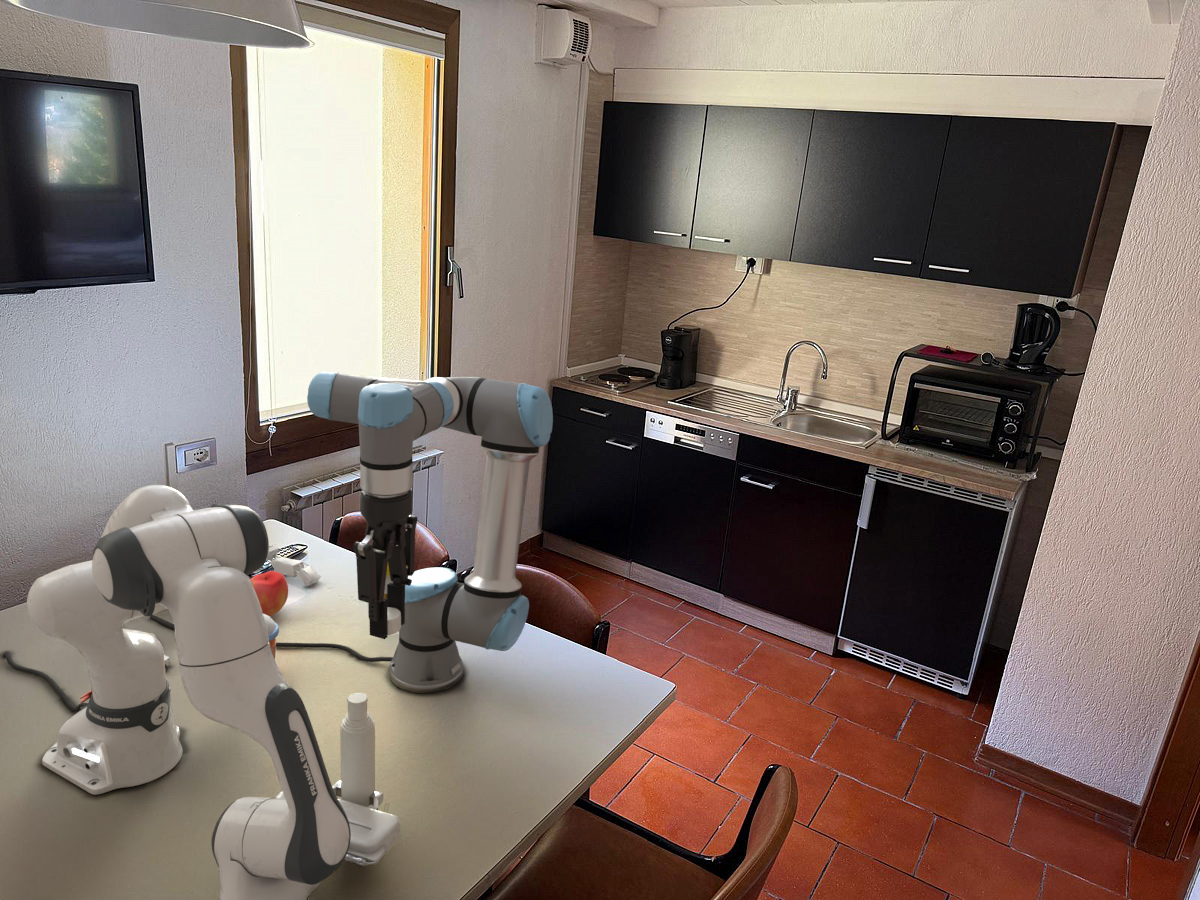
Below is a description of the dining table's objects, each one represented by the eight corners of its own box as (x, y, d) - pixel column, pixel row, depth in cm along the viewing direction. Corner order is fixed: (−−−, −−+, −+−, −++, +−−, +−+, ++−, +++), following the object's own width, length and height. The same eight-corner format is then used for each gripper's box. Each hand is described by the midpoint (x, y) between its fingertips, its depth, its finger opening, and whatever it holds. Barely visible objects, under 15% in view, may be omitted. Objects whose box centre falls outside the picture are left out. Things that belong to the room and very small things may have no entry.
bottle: (335, 833, 137) (332, 702, 130) (353, 812, 142) (352, 684, 134) (363, 843, 135) (362, 710, 128) (381, 821, 140) (381, 692, 133)
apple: (273, 600, 207) (272, 562, 204) (297, 613, 202) (296, 575, 199) (237, 614, 200) (234, 575, 197) (261, 628, 194) (259, 588, 191)
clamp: (253, 565, 223) (254, 542, 221) (265, 560, 226) (266, 537, 224) (309, 593, 215) (310, 569, 213) (320, 588, 218) (321, 564, 216)
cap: (378, 638, 130) (378, 622, 130) (369, 625, 134) (369, 610, 133) (404, 632, 133) (404, 616, 132) (395, 619, 136) (395, 604, 135)
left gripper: (372, 851, 121) (419, 789, 134) (249, 813, 126) (306, 757, 139) (372, 886, 123) (419, 822, 136) (251, 848, 128) (307, 790, 141)
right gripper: (397, 467, 135) (397, 600, 142) (328, 503, 119) (332, 649, 127) (438, 476, 132) (437, 610, 140) (373, 513, 117) (375, 662, 124)
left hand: (361, 789), depth 137 cm, fingers closed on bottle, 5 cm apart
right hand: (387, 628), depth 133 cm, fingers closed on cap, 4 cm apart
